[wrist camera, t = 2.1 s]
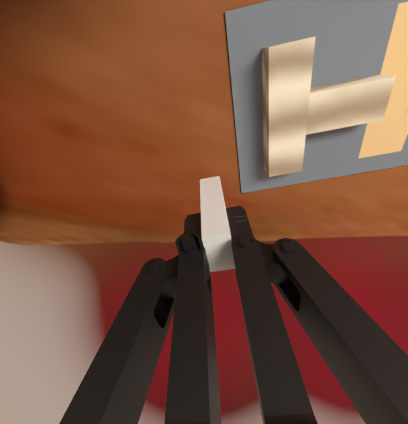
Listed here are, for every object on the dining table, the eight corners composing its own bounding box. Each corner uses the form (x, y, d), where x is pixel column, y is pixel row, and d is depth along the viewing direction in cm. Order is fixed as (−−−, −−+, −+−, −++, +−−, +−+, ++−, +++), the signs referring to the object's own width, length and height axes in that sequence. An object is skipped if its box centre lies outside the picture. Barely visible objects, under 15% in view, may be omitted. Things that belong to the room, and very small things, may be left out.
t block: (261, 48, 26) (268, 47, 23) (392, 18, 24) (414, 14, 22) (263, 168, 35) (268, 177, 32) (358, 151, 34) (371, 159, 31)
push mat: (224, 12, 24) (224, 11, 23) (588, -78, 21) (592, -79, 20) (241, 192, 38) (241, 193, 37) (459, 155, 35) (461, 155, 34)
